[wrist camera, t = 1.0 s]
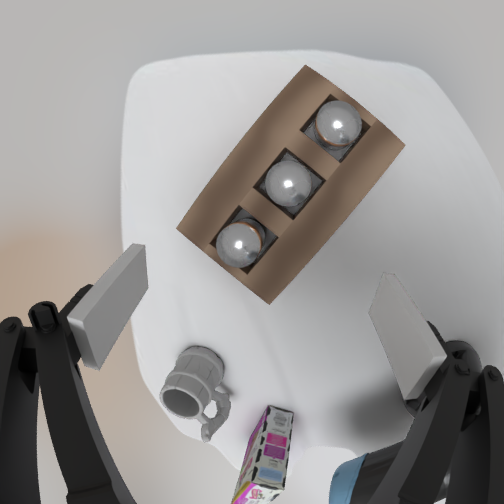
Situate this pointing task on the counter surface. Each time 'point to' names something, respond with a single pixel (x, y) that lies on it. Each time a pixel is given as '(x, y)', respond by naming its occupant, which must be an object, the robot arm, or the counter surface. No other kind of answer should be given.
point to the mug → (196, 389)
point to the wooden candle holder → (276, 216)
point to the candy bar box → (265, 459)
